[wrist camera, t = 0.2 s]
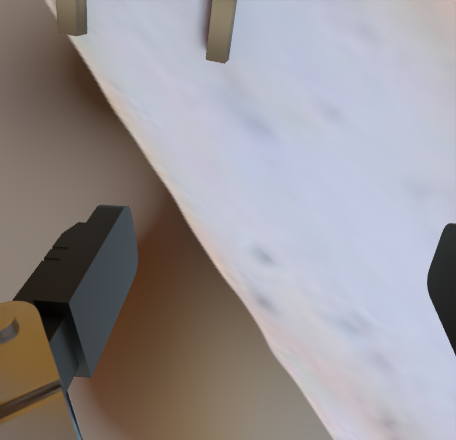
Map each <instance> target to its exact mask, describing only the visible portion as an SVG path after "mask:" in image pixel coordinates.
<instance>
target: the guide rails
mask: <svg viewBox="0 0 456 440" xmlns="http://www.w3.org/2000/svg"><path fill="white" fill-rule="evenodd" d="M236 3H237V0H212V8H211V17H210V26H209V35H208V44H207V53H206V60H209V61H215V62H220V63H226V62H227V61H228V60H229V53H230V46H231V39H232V31H233V24H234V17H235V10H236ZM56 7H57V23H58V33H62V34H68V35H73V36H79V35H84V34H87V7H86V0H56Z"/></svg>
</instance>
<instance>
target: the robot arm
mask: <svg viewBox="0 0 456 440" xmlns="http://www.w3.org/2000/svg"><path fill="white" fill-rule="evenodd" d="M137 252H138V251H137V245H136V239H135V232H134V227H133V220H132V214H131V210H130V208H129V207H128V206H115V205H99V206H97V208H96V209H95V211H94V212H93V213H92V215H91V216H90V218H89V219H88V221H87V222H86V223H81V222H79V223H77V224H75V225H74V226H73V227H71V228H70V229H68V230H67V231H65V232H64V233H62V234H61V236H60V237H59V238H58V240H57V241H56V243H55V244H54V245H53V247H52V249H50V251H49V252H48V253H47V255H46V256H45V257H44V261H41V263H40V264H39V265H38V267H37V268H36V269H35V271H34V272H33V273H32V275H31V276H30V277H29V279H28V280H27V282H26V283H25V284H24V286H23V287H22V288H21V289H20V291H19V292H18V293H17V295H16V296H15V298H14V299H13V300H12V301H8V302H4V303H0V440H83V437H82V434H81V431H80V428H79V425H78V422H77V419H76V415H75V412H74V410H73V406H72V403H71V400H70V397H69V394H68V391H67V390H68V388H69V386H70V384H71V382H72V379H73V377H74V376H76V377H89V378H91V377H92V375H93V373H94V370H95V368H96V366H97V363H98V361H99V359H100V356H101V354H102V352H103V349H104V347H105V345H106V342H107V340H108V338H109V335H110V333H111V331H112V328H113V326H114V323H115V321H116V319H117V316H118V314H119V312H120V310H121V307H122V305H123V302H124V300H125V298H126V296H127V293H128V291H129V289H130V286H131V284H132V282H133V279H134V277H135V274H136V271H137V264H138V253H137ZM427 286H428V292H429V296H430V298H431V300H432V303H433V305H434V307H435V309H436V312H437V314H438V316H439V319H440V321H441V323H442V325H443V328H444V330H445V332H446V334H447V337H448V339H449V341H450V344H451V346H452V348H453V350H454V353H455V355H456V224H454V223H449V224H447V225H446V226H445V228H444V229H443V232H442V235H441V237H440V240H439V243H438V246H437V249H436V252H435V254H434V257H433V260H432V263H431V266H430V269H429V272H428V278H427Z"/></svg>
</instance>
